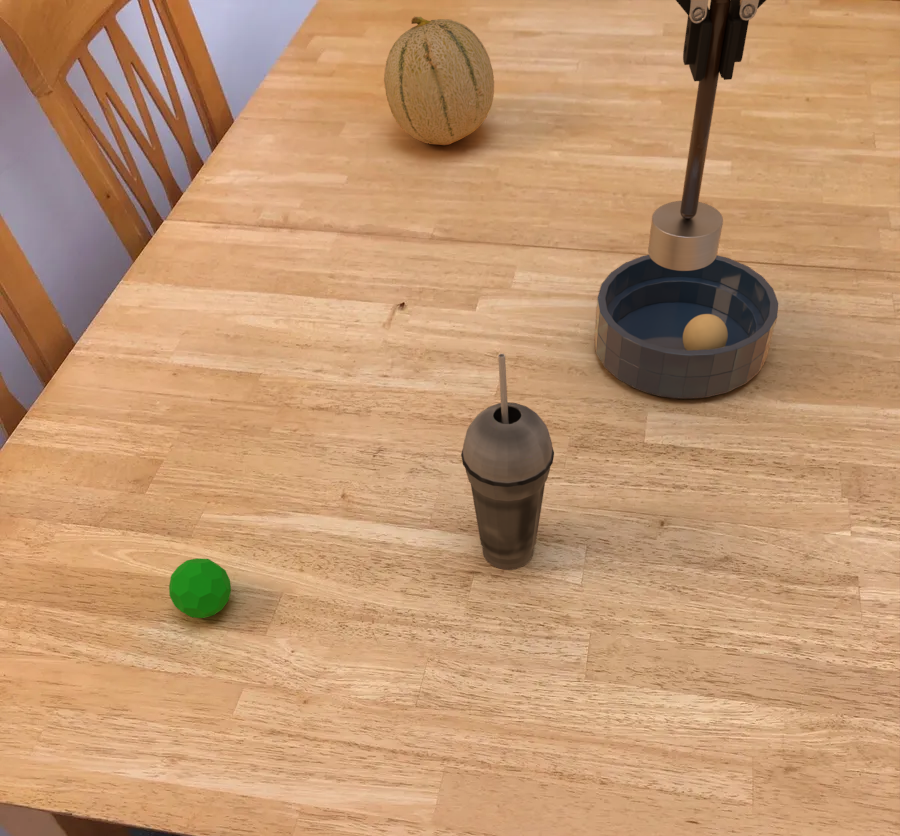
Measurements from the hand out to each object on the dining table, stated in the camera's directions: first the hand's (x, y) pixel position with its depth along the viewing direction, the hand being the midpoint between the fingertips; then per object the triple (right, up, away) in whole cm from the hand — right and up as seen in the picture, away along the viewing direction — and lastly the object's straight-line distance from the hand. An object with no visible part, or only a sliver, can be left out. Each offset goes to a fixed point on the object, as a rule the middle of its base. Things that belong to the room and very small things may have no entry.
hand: (710, 71), depth 70 cm
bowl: (+4, -14, +27) cm, 31 cm away
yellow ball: (+6, -14, +23) cm, 28 cm away
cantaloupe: (-21, +24, +58) cm, 66 cm away
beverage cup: (-15, -36, +11) cm, 40 cm away
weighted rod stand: (+1, -9, +12) cm, 15 cm away
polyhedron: (-41, -41, +9) cm, 58 cm away
